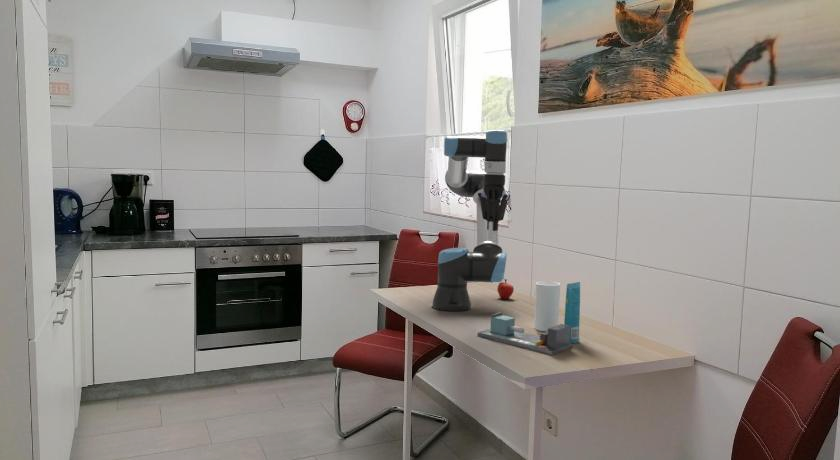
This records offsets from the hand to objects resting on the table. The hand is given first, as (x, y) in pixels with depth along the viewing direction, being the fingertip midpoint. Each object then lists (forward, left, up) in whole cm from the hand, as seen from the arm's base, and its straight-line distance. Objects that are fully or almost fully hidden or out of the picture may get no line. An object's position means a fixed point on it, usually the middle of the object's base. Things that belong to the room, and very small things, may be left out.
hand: (492, 239), depth 223 cm
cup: (+21, +5, -30) cm, 37 cm away
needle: (+33, -17, -28) cm, 46 cm away
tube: (+35, -3, -30) cm, 46 cm away
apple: (-18, +35, -30) cm, 49 cm away
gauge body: (+19, -15, -28) cm, 37 cm away
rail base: (+25, -15, -29) cm, 41 cm away
